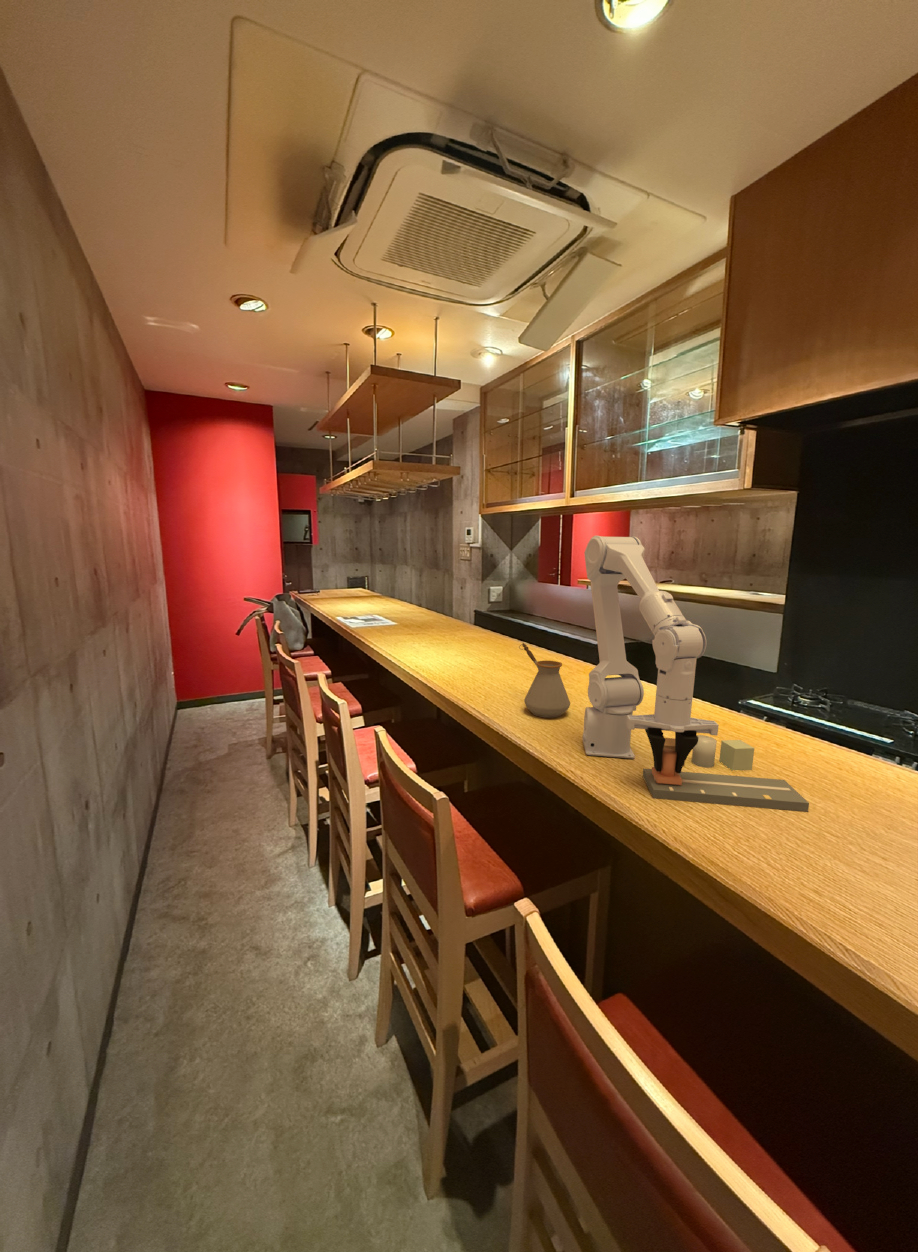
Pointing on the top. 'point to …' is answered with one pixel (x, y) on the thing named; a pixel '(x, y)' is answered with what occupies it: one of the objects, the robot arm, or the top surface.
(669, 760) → the counter slider
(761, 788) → the slate board
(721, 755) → the sage block
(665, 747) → the walnut block
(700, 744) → the grey cylinder
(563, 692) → the coffee pot
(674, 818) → the top surface
